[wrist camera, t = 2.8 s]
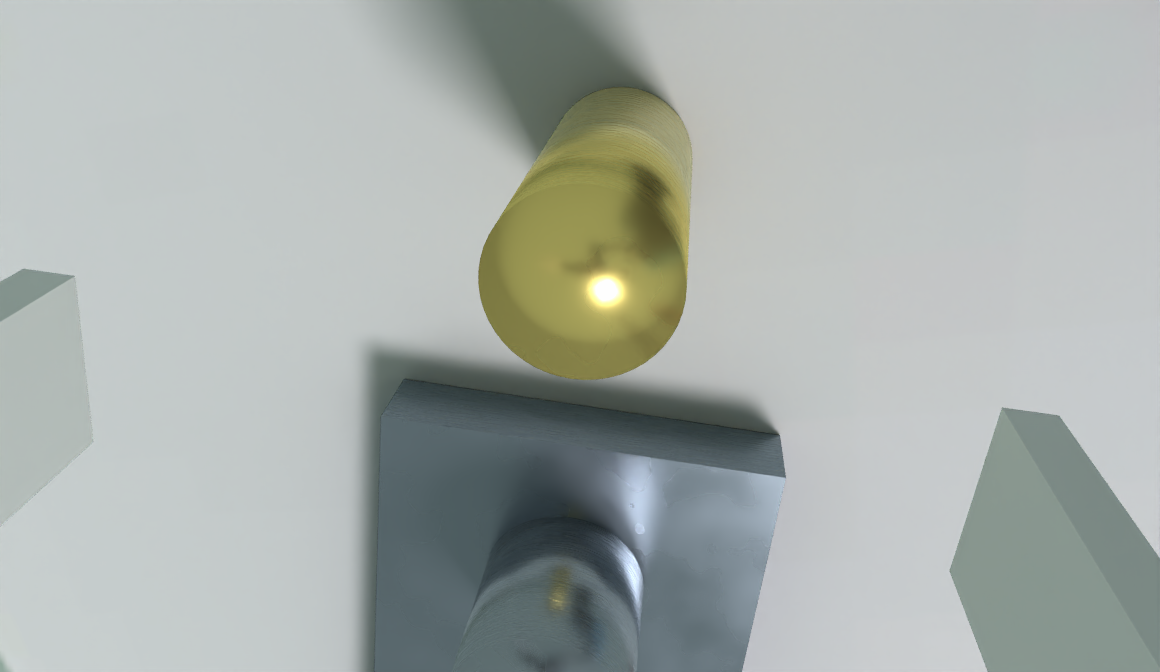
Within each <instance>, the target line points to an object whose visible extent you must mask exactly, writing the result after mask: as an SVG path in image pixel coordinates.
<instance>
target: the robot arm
mask: <svg viewBox="0 0 1160 672" xmlns="http://www.w3.org/2000/svg"><path fill="white" fill-rule="evenodd" d="M92 443H93V434H92V425H91V416H90V407H89V398H88V389H87V380H86V371H85V362H84V353H83V343H82V334H81V325H80V316H79V307H78V298H77V289H76V280H75V276H71V275H64V274H57V273H50V272H43V271H36V270H29V269H22V270H21V271H19V272H17V273H15V274H13V275H12V276H10V277H8V278H6V279H4V280H3V281H1V282H0V526H1V525H3V524H4V523H5V522H6V521H7V520H8V519H9V518H10V517H11V516H12V515H14V514H15V513H16V512H17V511H18V510H19V509H20V508H21V507H22V506H23V505H25V504H26V503H27V502H28V501H29V500H30V499H31V498H32V497H33V496H35V495H36V494H37V493H38V492H39V491H40V490H41V489H42V488H43V487H44V486H46V485H47V484H48V483H49V482H50V481H51V480H52V479H53V478H54V477H55V476H57V475H58V474H59V473H60V472H61V471H62V470H63V469H64V468H65V467H66V466H68V465H69V464H70V463H71V462H72V461H73V460H74V459H75V458H76V457H77V456H79V455H80V454H81V453H82V452H83V451H84V450H85V449H86V448H87V447H88V446H90V445H91V444H92ZM950 573H951V576H952V579H953V581H954V584H955V586H956V589H957V592H958V594H959V597H960V600H961V602H962V605H963V607H964V610H965V613H966V615H967V618H968V621H969V623H970V626H971V629H972V631H973V634H974V636H975V639H976V642H977V644H978V647H979V650H980V652H981V655H982V657H983V660H984V663H985V665H986V668H987V671H988V672H1160V558H1159V557H1158V555H1157V554H1156V552H1155V551H1154V550H1153V548H1152V547H1151V545H1150V544H1149V543H1148V541H1147V540H1146V538H1145V537H1144V535H1143V534H1142V533H1141V531H1140V530H1139V528H1138V527H1137V525H1136V524H1135V523H1134V521H1133V520H1132V518H1131V517H1130V516H1129V514H1128V513H1127V511H1126V510H1125V508H1124V507H1123V506H1122V504H1121V503H1120V501H1119V500H1118V499H1117V497H1116V496H1115V494H1114V493H1113V491H1112V490H1111V489H1110V487H1109V486H1108V484H1107V483H1106V481H1105V480H1104V479H1103V477H1102V476H1101V474H1100V473H1099V472H1098V470H1097V469H1096V467H1095V466H1094V464H1093V463H1092V462H1091V460H1090V459H1089V457H1088V456H1087V455H1086V453H1085V452H1084V450H1083V449H1082V447H1081V446H1080V445H1079V443H1078V442H1077V440H1076V439H1075V438H1074V436H1073V435H1072V433H1071V432H1070V430H1069V429H1068V428H1067V426H1066V425H1065V423H1064V422H1063V420H1062V419H1061V418H1060V416H1058V415H1051V414H1044V413H1037V412H1030V411H1023V410H1016V409H1009V408H1002V410H1001V413H1000V416H999V419H998V422H997V425H996V428H995V431H994V434H993V438H992V441H991V444H990V447H989V450H988V453H987V456H986V459H985V462H984V466H983V469H982V472H981V475H980V478H979V481H978V484H977V487H976V490H975V494H974V497H973V500H972V503H971V506H970V509H969V512H968V515H967V518H966V522H965V525H964V528H963V531H962V534H961V537H960V540H959V543H958V546H957V550H956V553H955V556H954V559H953V562H952V565H951V568H950Z"/></svg>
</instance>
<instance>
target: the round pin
mask: <svg viewBox="0 0 1160 672" xmlns="http://www.w3.org/2000/svg"><path fill="white" fill-rule="evenodd" d="M691 179H692V147H691V142H690V138H689V135H688V132H687V130H686V128H685V126H684V124H683V122H682V121H681V119H680V117H679V116H678V115H677V114H676V112H675V111H674V110H673V109H672V108H671V107H670V106H669V105H668V104H667V103H665V102H664V101H663V100H661V99H660V98H658V97H657V96H655V95H653V94H651V93H649V92H646V91H643V90H640V89H635V88H629V87H613V88H607V89H602V90H599V91H596V92H593V93H591V94H589V95H587V96H585V97H584V98H582V99H581V100H579V101H578V102H577V103H576V104H574V105H573V106H572V107H571V108H570V109H569V110H568V112H567V113H566V114H565V115H564V117H563V118H562V120H561V121H560V123H559V124H558V126H557V128H556V129H555V131H554V132H553V134H552V136H551V137H550V139H549V140H548V142H547V144H546V145H545V147H544V148H543V150H542V151H541V153H540V155H539V156H538V158H537V159H536V161H535V163H534V164H533V166H532V167H531V169H530V170H529V172H528V174H527V175H526V177H525V178H524V180H523V182H522V183H521V185H520V186H519V188H518V190H517V191H516V193H515V194H514V196H513V197H512V199H511V201H510V202H509V204H508V205H507V207H506V209H505V210H504V212H503V213H502V215H501V216H500V218H499V220H498V221H497V223H496V224H495V226H494V228H493V229H492V231H491V232H490V234H489V236H488V238H487V240H486V243H485V245H484V247H483V251H482V254H481V258H480V264H479V291H480V297H481V301H482V305H483V308H484V311H485V313H486V316H487V318H488V320H489V322H490V324H491V325H492V327H493V329H494V331H495V332H496V333H497V335H498V336H499V337H500V339H501V340H502V341H503V342H504V343H505V344H506V346H507V347H508V348H509V349H510V350H511V351H512V352H514V353H515V354H516V355H517V356H519V357H520V358H521V359H523V360H524V361H526V362H527V363H529V364H531V365H532V366H534V367H536V368H538V369H540V370H542V371H545V372H547V373H550V374H553V375H556V376H560V377H565V378H570V379H580V380H594V379H603V378H610V377H613V376H617V375H620V374H623V373H626V372H628V371H630V370H633V369H635V368H637V367H638V366H640V365H642V364H644V363H645V362H647V361H648V360H649V359H650V358H652V357H653V356H654V355H656V354H657V353H658V352H659V351H660V350H661V349H662V348H663V347H664V345H665V344H666V343H667V341H668V340H669V339H670V338H671V336H672V335H673V333H674V331H675V329H676V327H677V326H678V323H679V321H680V318H681V316H682V313H683V309H684V305H685V300H686V289H687V268H688V246H689V223H690V201H691Z"/></svg>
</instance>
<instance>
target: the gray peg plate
mask: <svg viewBox="0 0 1160 672" xmlns="http://www.w3.org/2000/svg"><path fill="white" fill-rule="evenodd" d="M785 480H786V475H785V468H784V461H783V454H782V447H781V440H780V435H775V434H768V433H761V432H755V431H748V430H741V429H735V428H728V427H721V426H715V425H708V424H701V423H695V422H688V421H681V420H674V419H668V418H661V417H654V416H648V415H641V414H634V413H628V412H621V411H614V410H608V409H601V408H594V407H587V406H581V405H574V404H567V403H561V402H554V401H547V400H541V399H534V398H527V397H521V396H514V395H507V394H500V393H494V392H487V391H480V390H474V389H467V388H460V387H454V386H447V385H440V384H434V383H427V382H420V381H414V380H407V379H404V380H403V381H402V383H401V385H400V386H399V388H398V390H397V391H396V393H395V394H394V396H393V398H392V399H391V401H390V403H389V404H388V406H387V407H386V409H385V411H384V412H383V414H382V415H381V430H380V468H379V506H378V544H377V583H376V621H375V659H374V672H742V668H743V664H744V660H745V655H746V651H747V647H748V642H749V638H750V633H751V629H752V625H753V620H754V616H755V611H756V607H757V603H758V598H759V594H760V589H761V585H762V581H763V576H764V572H765V567H766V563H767V559H768V554H769V550H770V546H771V541H772V537H773V532H774V528H775V524H776V519H777V515H778V510H779V506H780V502H781V497H782V493H783V488H784V484H785Z"/></svg>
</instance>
